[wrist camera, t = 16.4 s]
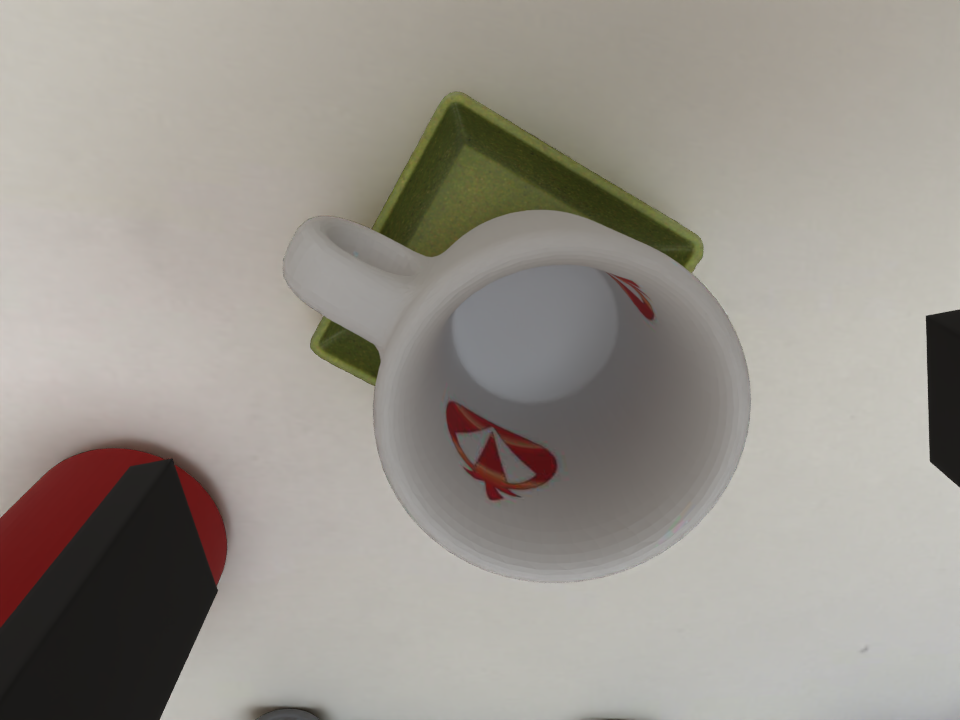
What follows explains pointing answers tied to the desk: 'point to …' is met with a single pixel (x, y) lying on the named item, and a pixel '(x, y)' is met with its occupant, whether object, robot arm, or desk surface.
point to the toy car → (288, 715)
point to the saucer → (492, 203)
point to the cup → (538, 387)
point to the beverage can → (83, 518)
